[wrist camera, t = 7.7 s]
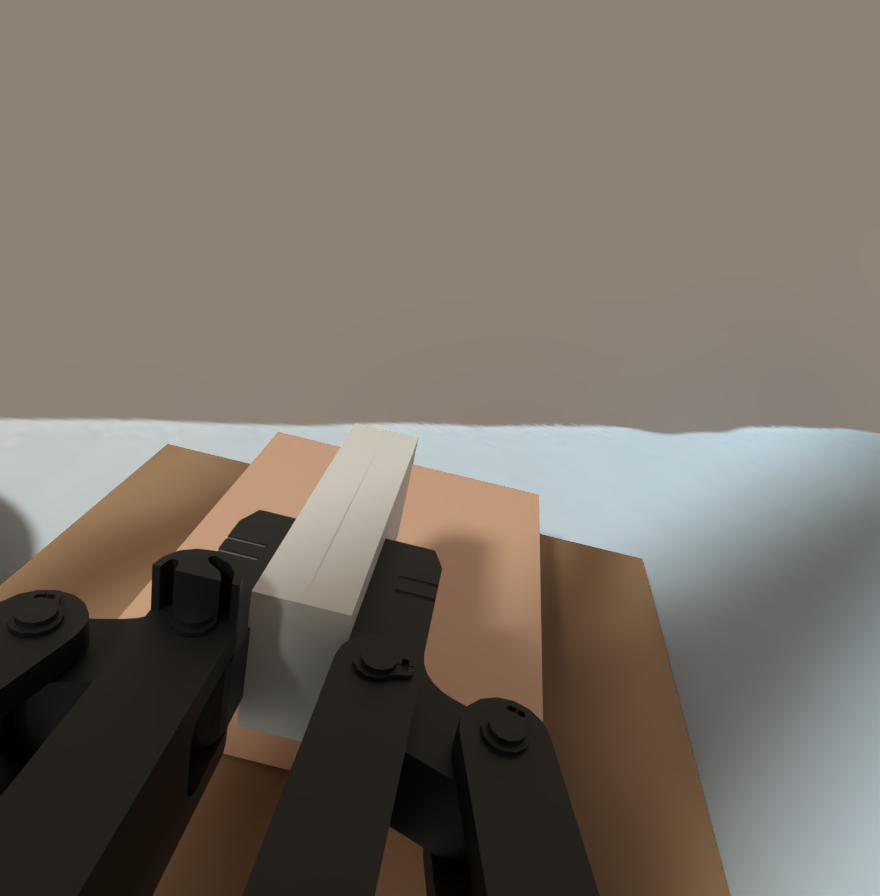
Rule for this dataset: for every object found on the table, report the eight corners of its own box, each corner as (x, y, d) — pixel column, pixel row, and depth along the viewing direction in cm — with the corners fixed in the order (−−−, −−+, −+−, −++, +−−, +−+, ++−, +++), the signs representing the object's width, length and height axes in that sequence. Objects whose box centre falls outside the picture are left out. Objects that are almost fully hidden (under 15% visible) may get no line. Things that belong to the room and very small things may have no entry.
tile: (514, 831, 16) (521, 551, 27) (543, 754, 15) (538, 494, 26) (97, 726, 16) (271, 490, 27) (96, 642, 15) (278, 431, 26)
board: (632, 582, 29) (642, 558, 28) (765, 1165, 12) (792, 1133, 12) (166, 469, 29) (167, 444, 29) (-294, 887, 13) (-310, 846, 12)
